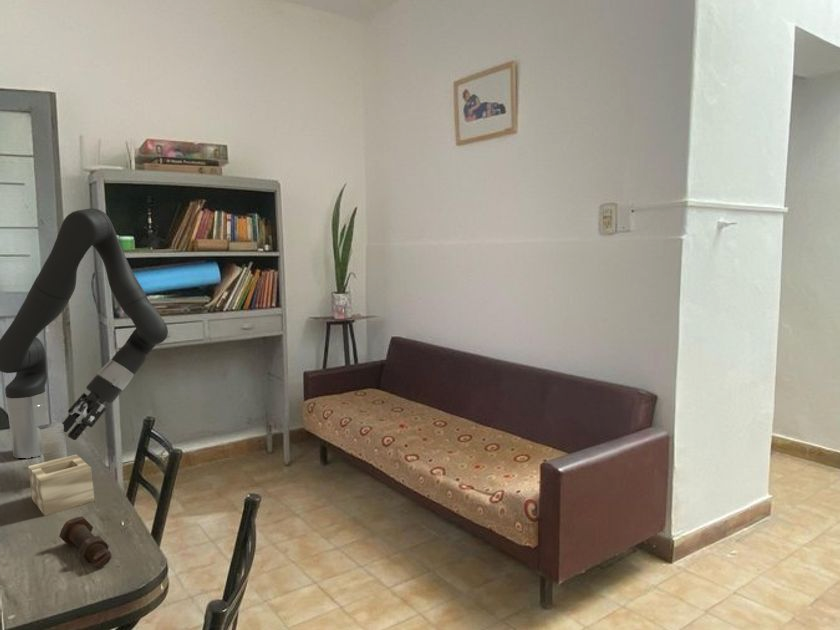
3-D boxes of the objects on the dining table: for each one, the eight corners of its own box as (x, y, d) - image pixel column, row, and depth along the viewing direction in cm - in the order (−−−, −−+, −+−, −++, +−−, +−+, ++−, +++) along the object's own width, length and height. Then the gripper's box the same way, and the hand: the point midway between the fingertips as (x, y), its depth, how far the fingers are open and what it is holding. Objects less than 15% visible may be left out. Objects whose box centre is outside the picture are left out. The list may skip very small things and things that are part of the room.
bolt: (100, 580, 109) (72, 548, 119) (124, 557, 112) (95, 529, 122) (80, 561, 106) (53, 531, 116) (105, 538, 109) (77, 510, 119)
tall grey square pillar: (43, 480, 150) (36, 426, 148) (65, 474, 153) (59, 421, 151) (46, 484, 147) (40, 429, 145) (69, 478, 151) (63, 424, 149)
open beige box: (32, 499, 139) (28, 466, 138) (79, 485, 146) (76, 454, 145) (44, 515, 130) (40, 481, 129) (94, 500, 137) (91, 467, 136)
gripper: (90, 369, 160) (46, 420, 154) (107, 377, 150) (60, 433, 143) (113, 384, 164) (71, 435, 158) (131, 393, 154) (87, 448, 148)
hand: (66, 434), depth 151 cm, fingers open, 8 cm apart
